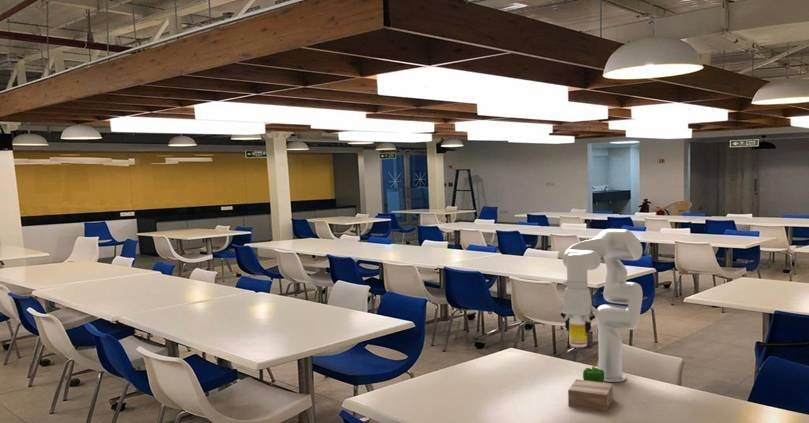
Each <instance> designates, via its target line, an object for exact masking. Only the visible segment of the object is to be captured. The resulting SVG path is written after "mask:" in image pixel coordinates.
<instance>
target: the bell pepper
mask: <svg viewBox="0 0 809 423" xmlns="http://www.w3.org/2000/svg"><path fill="white" fill-rule="evenodd" d="M582 380H586V381H595V382H603V383H605V381H604V371H603V370H600V369H599V367H595V365H592V366H591V368H589V367H586V368H585V369H583V371H582Z"/></svg>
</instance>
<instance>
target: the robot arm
mask: <svg viewBox="0 0 809 423" xmlns="http://www.w3.org/2000/svg"><path fill="white" fill-rule="evenodd" d="M642 255H643V245H642V243H641V242H640V240H639V239H638V238H637V236H636V235H635V234H634V233H633V232H632V231H631V230H629V229H626V228H625V229H624V228H606V229H602V230H601V231H600V232H599V233H597V234H596V235H595V236H594V237H593V238H591V239H586V240H583V241H580V242H577V243H573V244H572V245H570V246H569V247H568V248H567V249H566V250H565V251H564V252H563V256H562V263H563V265H564V266H565V267H566V280H565V281H563V285H565V286H566V287H565V289H564V294H563V304H562V305H561V306H559V307H558V308H557V309H556V311H557V312H558V314H560V316H561V317H562V318H563V320H564V322H565V323H564V324H565V329H566V331H567V332H569V320H570V319H571V318H570V317H571V316H572V315H580V316H584V319H586V321H587V322H586V332H587V334H588V333H589V332H590V331H591V330H592V321H593V320H594V319H595V320H596V324H597V333H598V336H597V337H598V369H600V370H603V371H604V382H605V383H619V382H624V381H626V380H627V376H626V374H625V373H623V338H622V334H621V333H620V332H619V330H618V329H622V330H635V329H637V328H638V326H639V322H640V317H641V310H642V304H643V297H644V296H643V289H642V288H643V287H642V286H641V284H639V283H637V282H633V281H627V280H628V279H627V278H628V271H627V268H626V267H625V264H624V263H623V262H622V261H638V260H640V259H641V257H642ZM601 258H603V259H604V263H605V266H606V276H605V281H604V287H603V299H604V300H605V301H606V302H608V303H609V304H605V303H604V304H601V305H599V306H598V307H597V308H596V307H595V306H593V303H592V297H591V296H592V295H591V291H590V290H591V289H590V288H589V287H588V285H589V284H588V283H589V282H588V271H593V270H596V269H598V267H600V265H601V261H602V259H601ZM621 260H622V261H621ZM610 303H613V304H610ZM617 304H623V305H617ZM592 312H593V314H592V315H591V313H592Z"/></svg>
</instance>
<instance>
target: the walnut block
mask: <svg viewBox="0 0 809 423" xmlns="http://www.w3.org/2000/svg"><path fill="white" fill-rule="evenodd" d="M613 386H614V384H613V383H612V382H595V381H586V380H584V379H578V378H577V379H575V380H574V382H573V383H572V384H571V385H570V387H569V388H568V389H567V391H568V392H567V396H568V397H567V398H568V399H567V403H568V407H574V408H583V409H589V410H596V411H603V412H607V411H608V409H609V407H610V406H611V403H612V402H613V400H614V392H613V391H614V390H613Z"/></svg>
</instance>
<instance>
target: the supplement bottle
mask: <svg viewBox="0 0 809 423" xmlns="http://www.w3.org/2000/svg"><path fill="white" fill-rule="evenodd" d="M569 319H570V320H569V331H568V334H569V335H568V338H569V340H568V341H569V345H570V346H571V347H574V348H575V347H576V348H585V347H586V346H588V333H587V332H586V322H587V320H586V318H585V316H580V315H571V318H569Z"/></svg>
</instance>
